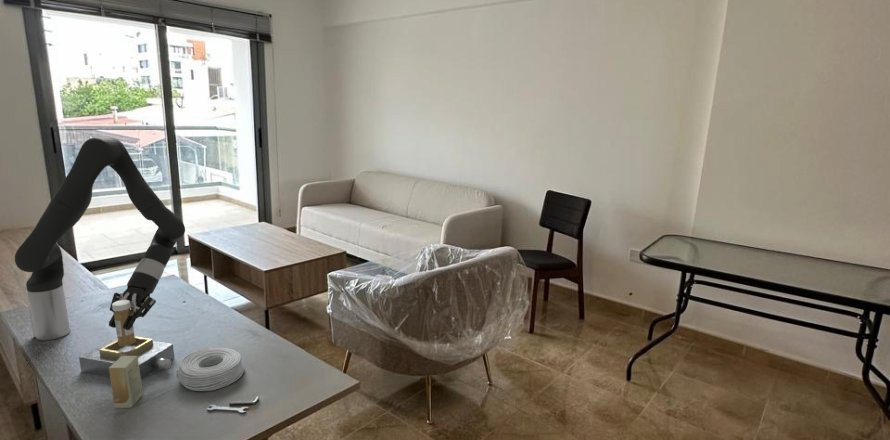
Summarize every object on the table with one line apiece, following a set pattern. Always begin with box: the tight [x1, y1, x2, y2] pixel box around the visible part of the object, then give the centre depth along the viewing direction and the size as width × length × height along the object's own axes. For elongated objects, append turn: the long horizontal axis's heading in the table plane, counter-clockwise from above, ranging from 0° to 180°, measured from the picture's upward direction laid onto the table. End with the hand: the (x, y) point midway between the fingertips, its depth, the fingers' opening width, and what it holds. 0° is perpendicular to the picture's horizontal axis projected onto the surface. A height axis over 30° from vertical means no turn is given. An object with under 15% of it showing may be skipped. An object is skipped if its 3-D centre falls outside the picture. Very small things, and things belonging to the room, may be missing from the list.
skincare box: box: [109, 356, 144, 409], centre depth 128 cm, size 6×4×12 cm
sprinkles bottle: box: [112, 300, 136, 346], centre depth 143 cm, size 5×5×13 cm
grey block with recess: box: [78, 335, 175, 381], centre depth 145 cm, size 24×14×7 cm, turn 78°
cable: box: [176, 347, 245, 392], centre depth 142 cm, size 18×18×6 cm
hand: (118, 327), depth 141 cm, fingers closed on sprinkles bottle, 4 cm apart
